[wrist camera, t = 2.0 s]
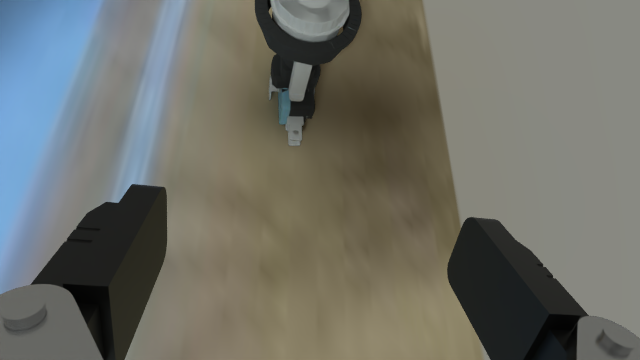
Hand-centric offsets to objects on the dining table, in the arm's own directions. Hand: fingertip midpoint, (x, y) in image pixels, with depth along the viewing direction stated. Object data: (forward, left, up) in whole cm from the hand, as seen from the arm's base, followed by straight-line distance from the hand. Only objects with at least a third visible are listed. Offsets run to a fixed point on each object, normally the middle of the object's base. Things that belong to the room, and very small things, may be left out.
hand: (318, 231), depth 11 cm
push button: (0, +12, -15) cm, 19 cm away
